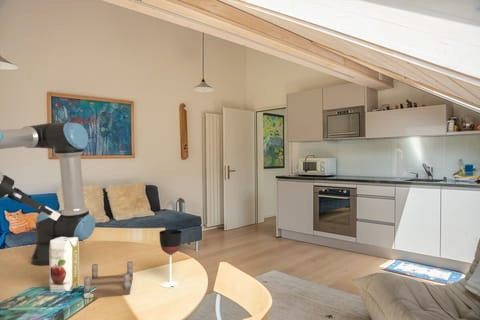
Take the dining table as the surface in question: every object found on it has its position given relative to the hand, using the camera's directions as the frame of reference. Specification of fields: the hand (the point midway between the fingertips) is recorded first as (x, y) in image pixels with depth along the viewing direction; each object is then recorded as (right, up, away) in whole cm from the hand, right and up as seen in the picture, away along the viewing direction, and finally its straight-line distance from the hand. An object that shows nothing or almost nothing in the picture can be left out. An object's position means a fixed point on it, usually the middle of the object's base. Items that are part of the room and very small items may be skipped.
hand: (51, 213), depth 122 cm
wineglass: (+44, -28, +4) cm, 52 cm away
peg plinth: (+22, -28, -1) cm, 36 cm away
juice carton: (+6, -28, -3) cm, 29 cm away
